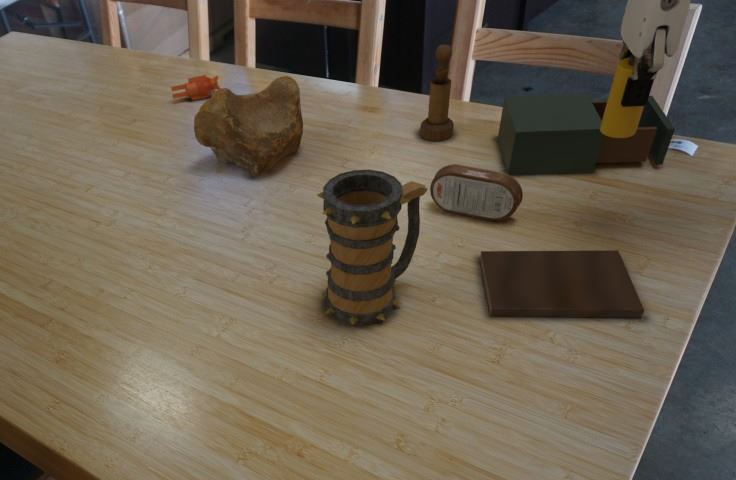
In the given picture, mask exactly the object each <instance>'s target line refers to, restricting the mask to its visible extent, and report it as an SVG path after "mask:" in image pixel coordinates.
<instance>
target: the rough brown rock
mask: <svg viewBox="0 0 736 480" xmlns="http://www.w3.org/2000/svg"><path fill="white" fill-rule="evenodd" d="M300 92H301V91H300V87H299V84H298V82H297V81H296V80H295V79H294V78H293V77H291V76H288V75H284V76H279V77H276V78H275V79H273V80H272V81H271V82H270V84H269V85H268V86H266V87H265V88H264V89H263V90H261V91H260V92H257V93H255V92H254V93H247V94H236V93H234V92H233V91H232V90H230V89H229V88H227V87H220V89H215V91H213V92H212V93H211V97H210V98H208V99H206V101H204V102H203V103H202V104H201V106H200V107H199V110H198V112H197V113H196V114H195V115H194V119H193V132H194V137H195V139H196V141H197V143H199V145H200V146H203V147H206V148H210V149H211V151H212V152H213V154H214V156H215V158H216V159H217V161H218V162H221V163H224V164H230V163H234V164H235V166H236V167H239V168H241V169H242V170H243V171H244V172H246V173H247V174H249V176H252V177H258V176H260V175H262V174H264V173H266V172H267V171H268V170H270V169H271V168H272V167H273V166H274V165H276V163H277V162H279V161H280V160H281V159H282V158H284V157H286V156H287V155H291V154H292V153H294V152H296V151H297V150H298V149H299V148H300V145H301V142H302V136H303V134H304V121H303V120H304V119H303V114H302V107H301V95H300V94H301V93H300Z"/></svg>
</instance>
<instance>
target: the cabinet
mask: <svg viewBox="0 0 736 480" xmlns="http://www.w3.org/2000/svg"><path fill="white" fill-rule="evenodd" d="M503 97H504V98H503V103H502V110H501V116H500V122H499V127H498V133H497V140H498V144H499V147H500V150H501V151H500V152H501V154H502V159H503V162H504V165H505V170H506V174H508V175H510V176H524V175H525V176H527V175H556V174H557V175H562V174H593V173H595V168H596V165H597V163H596V162H597V158H598V154H599V151H600V147H601V144H602V140H603V137H604V134H602V133H601V131H600V127H601V123H602V121H601V119H600V117H599V115H598V113H597V111H596V109H595V107H594V105H593V103H592V102H591V101H592V99H591V98H590V96H589V94H588V92H572V93H550V94H533V95H532V94H530V95H529V94H528V95H512V96H509V95H508V96H503Z"/></svg>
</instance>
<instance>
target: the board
mask: <svg viewBox="0 0 736 480" xmlns="http://www.w3.org/2000/svg"><path fill="white" fill-rule="evenodd" d="M479 261H480V267H481V273H482V279H483V283H484V288H485V294H486V301H487V305H488V310H489V316H490V317H539V318H540V317H542V318H543V317H545V318H547V317H549V318H551V317H553V318H617V319H618V318H621V319H623V318H625V319H627V318H628V319H630V318H631V319H632V318H634V319H642V316H643V314H644V312H645V309H644V306H643V304H642V302H641V299H640V297H639V295H638V293H637V290H636V287H635V285H634V283H633V281H632V279H631V276H630V274H629V272H628V269H627V267H626V265H625V262H624V260H623V258H622V255H621V254H620V251H619V250H618V249H617V250H613V249H612V250H610V249H609V250H490V251H489V250H481V251H480V255H479Z"/></svg>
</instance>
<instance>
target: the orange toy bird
mask: <svg viewBox="0 0 736 480" xmlns="http://www.w3.org/2000/svg"><path fill="white" fill-rule="evenodd" d="M187 79H188V80H187V81H188V82H185V83H184V84H180V85H174V86H170V87H171V88H170V89H171V92H177V91H181V90H185V91H182V92H177V93H173V94H172V99H179V98H184V97H186V98H188V99H189V98H190V99H191V101H195V100H200V99H204V98H209V97H210V94H212V93H213V92H214V91H216V90H218V89H220V88H221V87H220V85H219V83H218V79H219V75H215V76H211V77H208V76H207V74H203V75H197V76H192V77H188V78H187Z"/></svg>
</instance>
